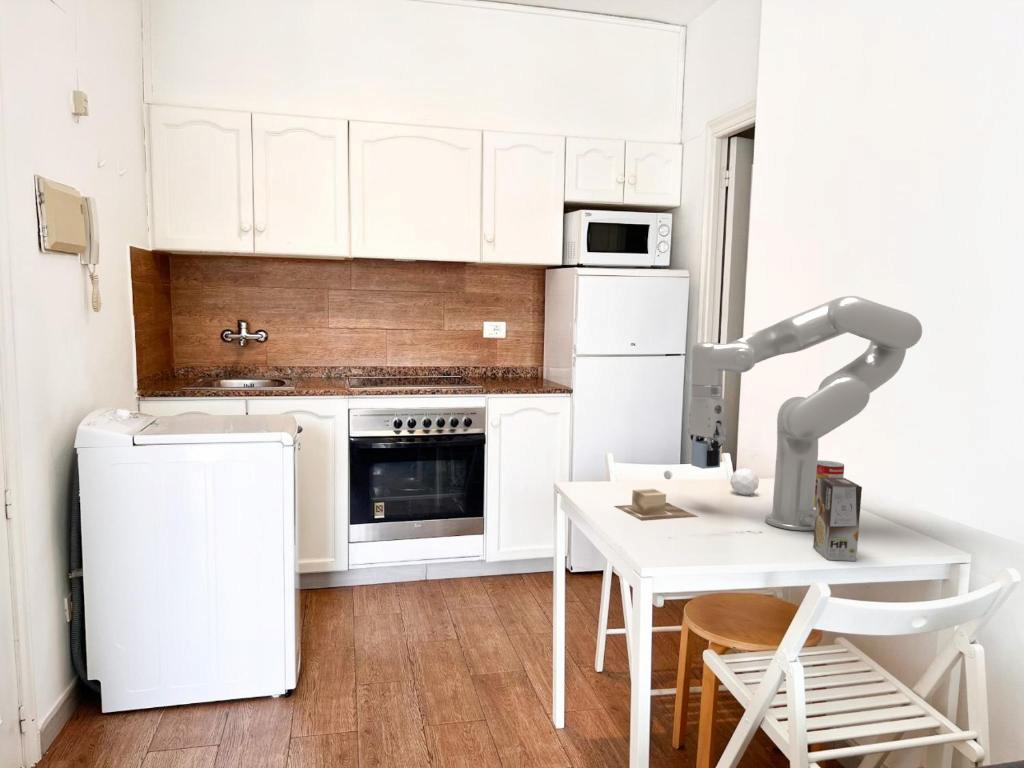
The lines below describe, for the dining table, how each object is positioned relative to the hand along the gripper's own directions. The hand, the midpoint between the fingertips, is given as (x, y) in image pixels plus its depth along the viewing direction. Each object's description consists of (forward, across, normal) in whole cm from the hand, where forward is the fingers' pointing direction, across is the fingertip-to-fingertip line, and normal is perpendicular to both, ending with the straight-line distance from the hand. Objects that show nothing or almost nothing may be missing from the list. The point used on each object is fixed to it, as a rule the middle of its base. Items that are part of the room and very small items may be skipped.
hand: (705, 463), depth 189 cm
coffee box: (+15, -33, -10) cm, 38 cm away
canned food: (+15, +2, -41) cm, 44 cm away
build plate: (+13, +4, +12) cm, 18 cm away
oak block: (+12, +4, +14) cm, 19 cm away
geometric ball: (+15, +19, -27) cm, 36 cm away
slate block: (+1, 0, 0) cm, 1 cm away
